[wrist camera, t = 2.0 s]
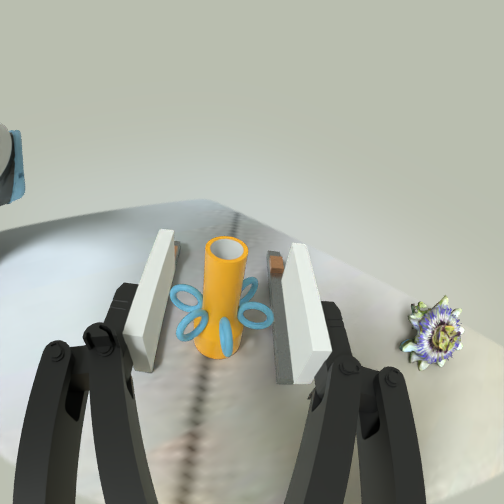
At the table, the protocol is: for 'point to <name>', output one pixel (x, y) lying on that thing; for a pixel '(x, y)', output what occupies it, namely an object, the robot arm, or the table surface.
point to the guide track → (278, 309)
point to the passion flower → (433, 334)
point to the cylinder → (220, 300)
